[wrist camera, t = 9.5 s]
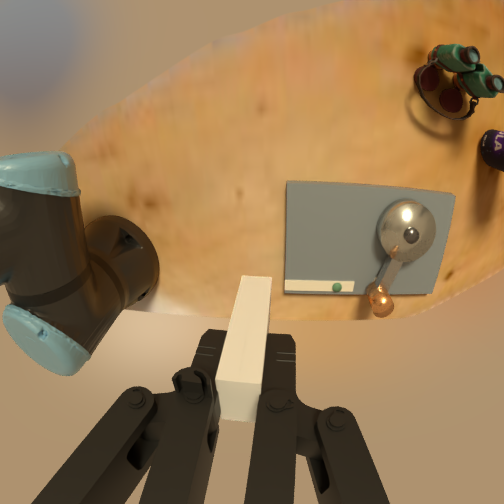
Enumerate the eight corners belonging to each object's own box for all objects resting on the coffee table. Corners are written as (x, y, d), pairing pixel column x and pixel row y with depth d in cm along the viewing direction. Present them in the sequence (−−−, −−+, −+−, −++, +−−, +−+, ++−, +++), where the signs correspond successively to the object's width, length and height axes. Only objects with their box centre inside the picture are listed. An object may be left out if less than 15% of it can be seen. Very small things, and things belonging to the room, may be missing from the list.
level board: (284, 287, 43) (284, 295, 41) (286, 180, 35) (286, 184, 34) (428, 288, 40) (433, 295, 38) (450, 193, 33) (457, 197, 31)
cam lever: (389, 189, 32) (403, 201, 28) (437, 209, 32) (454, 223, 28) (347, 290, 39) (353, 311, 35) (392, 301, 39) (401, 322, 35)
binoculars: (431, 89, 20) (467, 26, 14) (399, 89, 28) (430, 38, 23) (486, 146, 21) (519, 85, 15) (446, 130, 29) (476, 80, 24)
